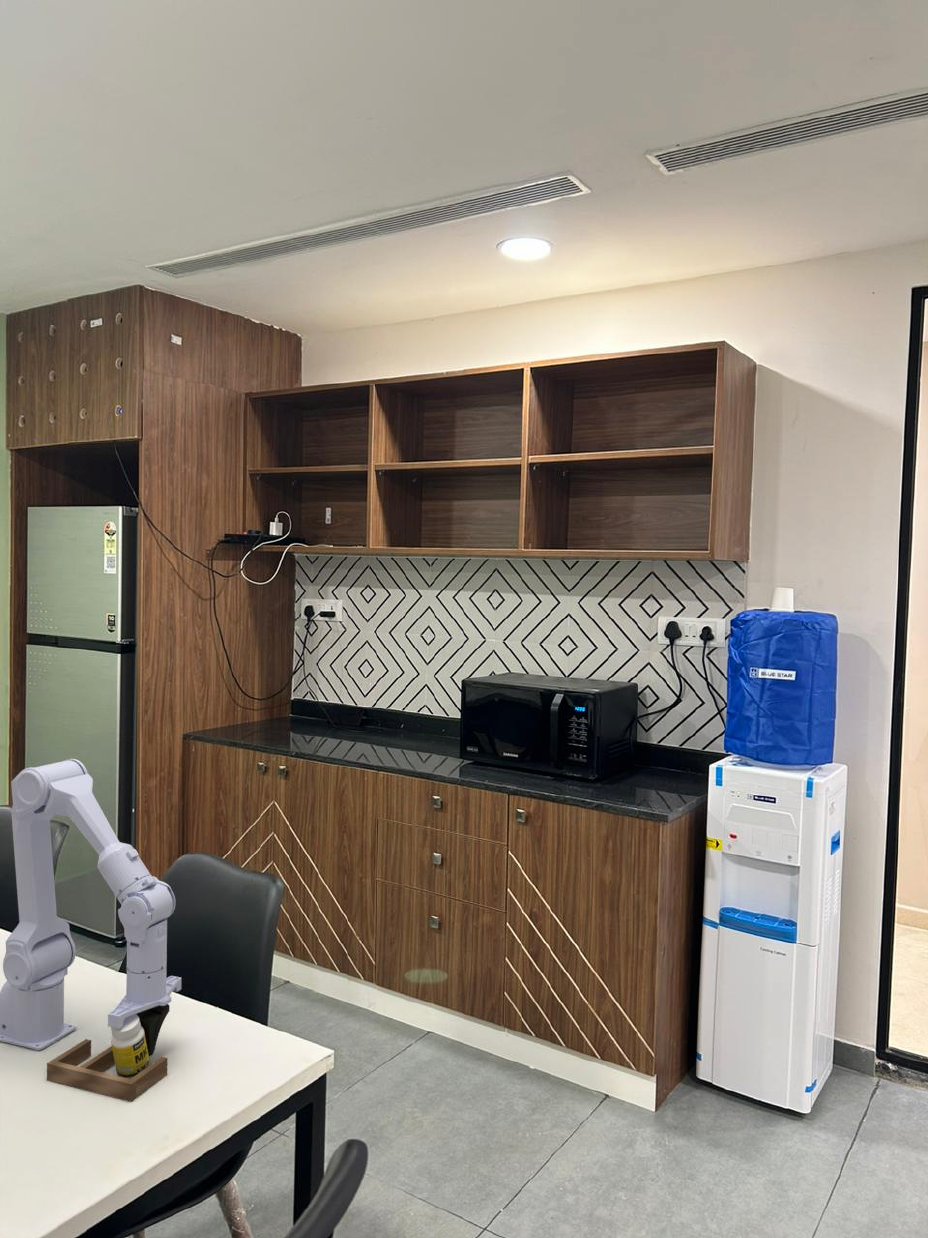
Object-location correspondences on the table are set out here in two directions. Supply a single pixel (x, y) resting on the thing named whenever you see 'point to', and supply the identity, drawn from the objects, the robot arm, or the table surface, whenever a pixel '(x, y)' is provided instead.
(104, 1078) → the frame
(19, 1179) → the table surface
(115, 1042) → the supplement bottle
